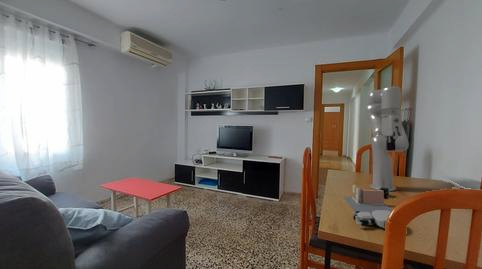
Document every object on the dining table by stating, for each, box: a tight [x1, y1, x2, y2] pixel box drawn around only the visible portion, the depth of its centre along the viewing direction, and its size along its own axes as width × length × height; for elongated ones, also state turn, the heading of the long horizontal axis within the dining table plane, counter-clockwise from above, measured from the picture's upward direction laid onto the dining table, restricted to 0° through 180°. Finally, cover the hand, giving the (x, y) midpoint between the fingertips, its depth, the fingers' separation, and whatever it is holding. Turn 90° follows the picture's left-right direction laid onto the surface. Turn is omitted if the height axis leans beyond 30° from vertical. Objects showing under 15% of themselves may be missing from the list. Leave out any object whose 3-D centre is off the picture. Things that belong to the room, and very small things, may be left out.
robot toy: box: [350, 210, 391, 229], centre depth 78 cm, size 12×4×15 cm
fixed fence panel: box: [352, 184, 363, 204], centre depth 102 cm, size 9×2×7 cm, turn 169°
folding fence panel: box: [362, 189, 385, 204], centre depth 97 cm, size 9×1×6 cm, turn 81°
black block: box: [380, 187, 394, 200], centre depth 109 cm, size 12×7×5 cm, turn 128°
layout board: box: [343, 196, 393, 214], centre depth 97 cm, size 19×16×1 cm
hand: (390, 150), depth 100 cm, fingers closed
